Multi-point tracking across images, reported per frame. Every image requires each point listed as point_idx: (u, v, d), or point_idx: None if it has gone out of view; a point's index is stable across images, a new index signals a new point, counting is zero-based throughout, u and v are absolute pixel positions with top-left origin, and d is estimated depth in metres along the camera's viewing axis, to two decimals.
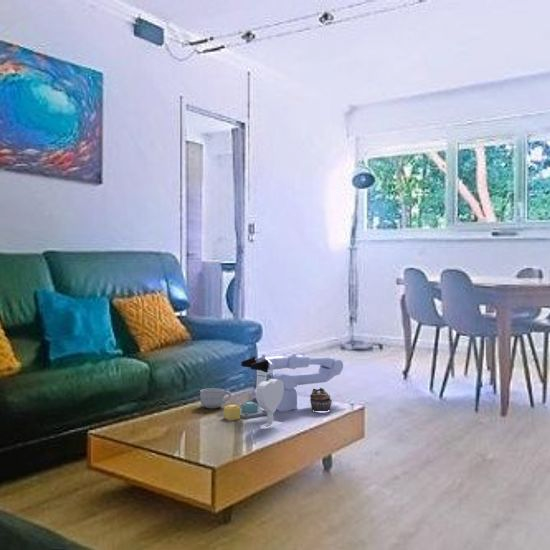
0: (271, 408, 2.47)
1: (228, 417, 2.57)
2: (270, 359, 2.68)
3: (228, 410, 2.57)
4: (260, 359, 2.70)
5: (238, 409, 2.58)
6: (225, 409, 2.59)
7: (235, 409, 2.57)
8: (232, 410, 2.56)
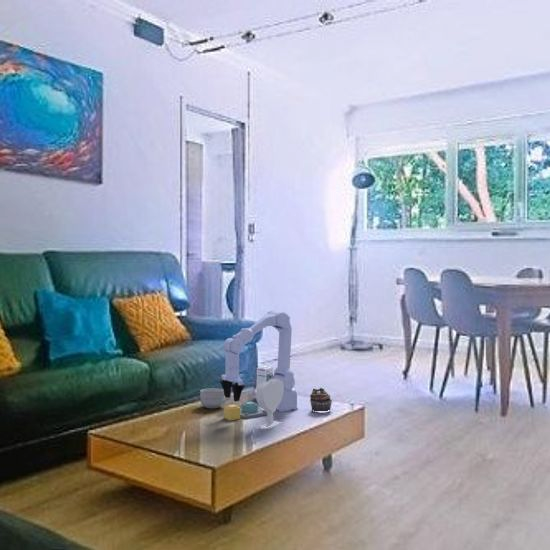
0: (271, 408, 2.47)
1: (228, 417, 2.57)
2: (230, 374, 2.56)
3: (228, 410, 2.57)
4: None
5: (238, 409, 2.58)
6: (225, 409, 2.59)
7: (235, 409, 2.57)
8: (232, 410, 2.56)
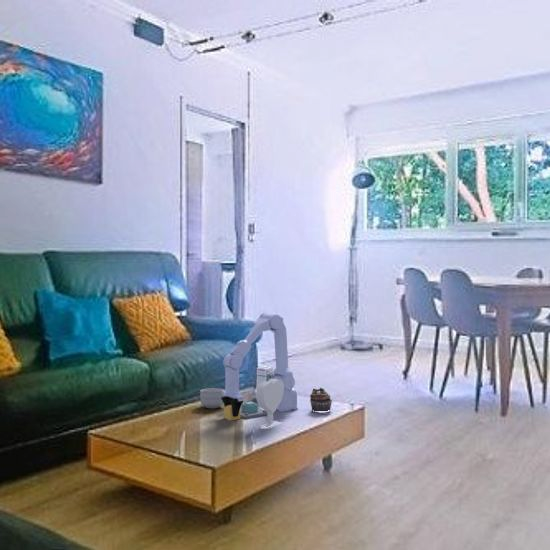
0: (271, 408, 2.47)
1: (228, 417, 2.57)
2: (230, 390, 2.56)
3: (228, 410, 2.57)
4: None
5: None
6: (225, 409, 2.59)
7: None
8: None
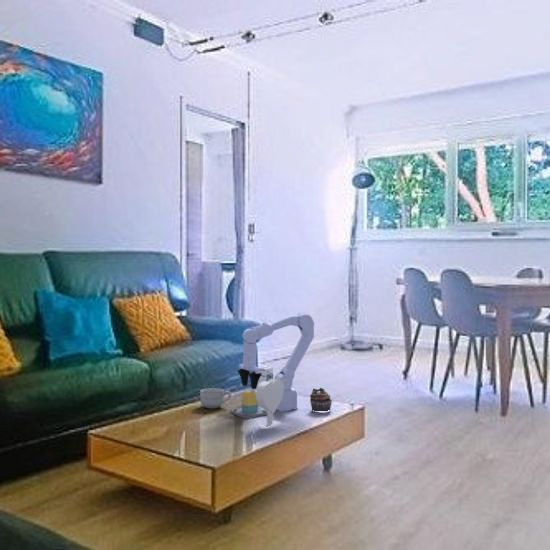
0: (271, 408, 2.47)
1: (246, 403, 2.64)
2: (248, 363, 2.69)
3: (246, 396, 2.64)
4: None
5: (255, 395, 2.65)
6: (243, 395, 2.66)
7: (253, 395, 2.64)
8: (250, 396, 2.63)
